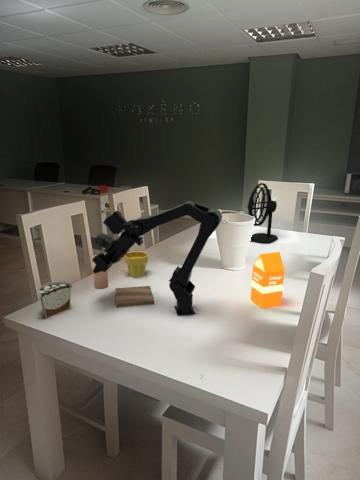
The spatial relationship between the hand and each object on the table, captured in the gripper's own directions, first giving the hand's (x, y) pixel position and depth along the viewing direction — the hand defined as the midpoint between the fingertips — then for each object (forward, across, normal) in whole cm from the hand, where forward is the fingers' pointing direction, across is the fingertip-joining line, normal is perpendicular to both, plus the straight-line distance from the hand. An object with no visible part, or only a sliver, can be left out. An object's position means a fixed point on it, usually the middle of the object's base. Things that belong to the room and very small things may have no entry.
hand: (97, 269), depth 129 cm
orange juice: (-35, -14, +53) cm, 65 cm away
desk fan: (-33, -107, +52) cm, 123 cm away
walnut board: (0, -5, +18) cm, 18 cm away
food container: (+17, +12, +1) cm, 21 cm away
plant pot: (+5, -28, +12) cm, 31 cm away
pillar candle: (+4, 0, +6) cm, 7 cm away
